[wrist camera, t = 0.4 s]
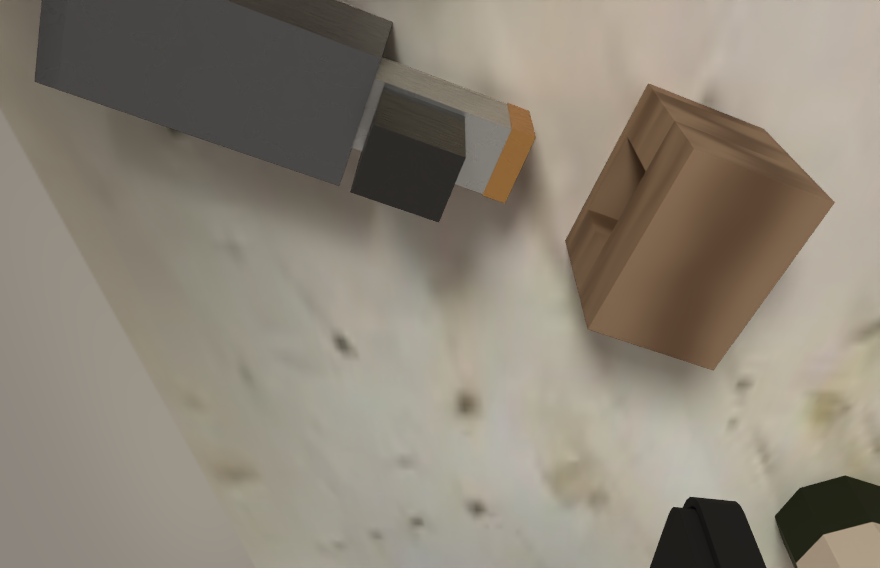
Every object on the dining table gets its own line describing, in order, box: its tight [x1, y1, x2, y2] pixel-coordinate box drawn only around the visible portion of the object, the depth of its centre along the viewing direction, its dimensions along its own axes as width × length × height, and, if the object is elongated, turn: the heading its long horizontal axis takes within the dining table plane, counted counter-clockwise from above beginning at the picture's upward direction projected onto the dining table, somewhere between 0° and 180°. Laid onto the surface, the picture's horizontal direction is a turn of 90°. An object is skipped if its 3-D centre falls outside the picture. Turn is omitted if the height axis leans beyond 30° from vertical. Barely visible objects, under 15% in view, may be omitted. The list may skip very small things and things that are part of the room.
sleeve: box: [35, 0, 392, 186], centre depth 36 cm, size 14×6×7 cm, turn 69°
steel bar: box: [350, 57, 536, 222], centre depth 35 cm, size 20×4×9 cm, turn 70°
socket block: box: [565, 84, 835, 370], centre depth 39 cm, size 7×10×9 cm
